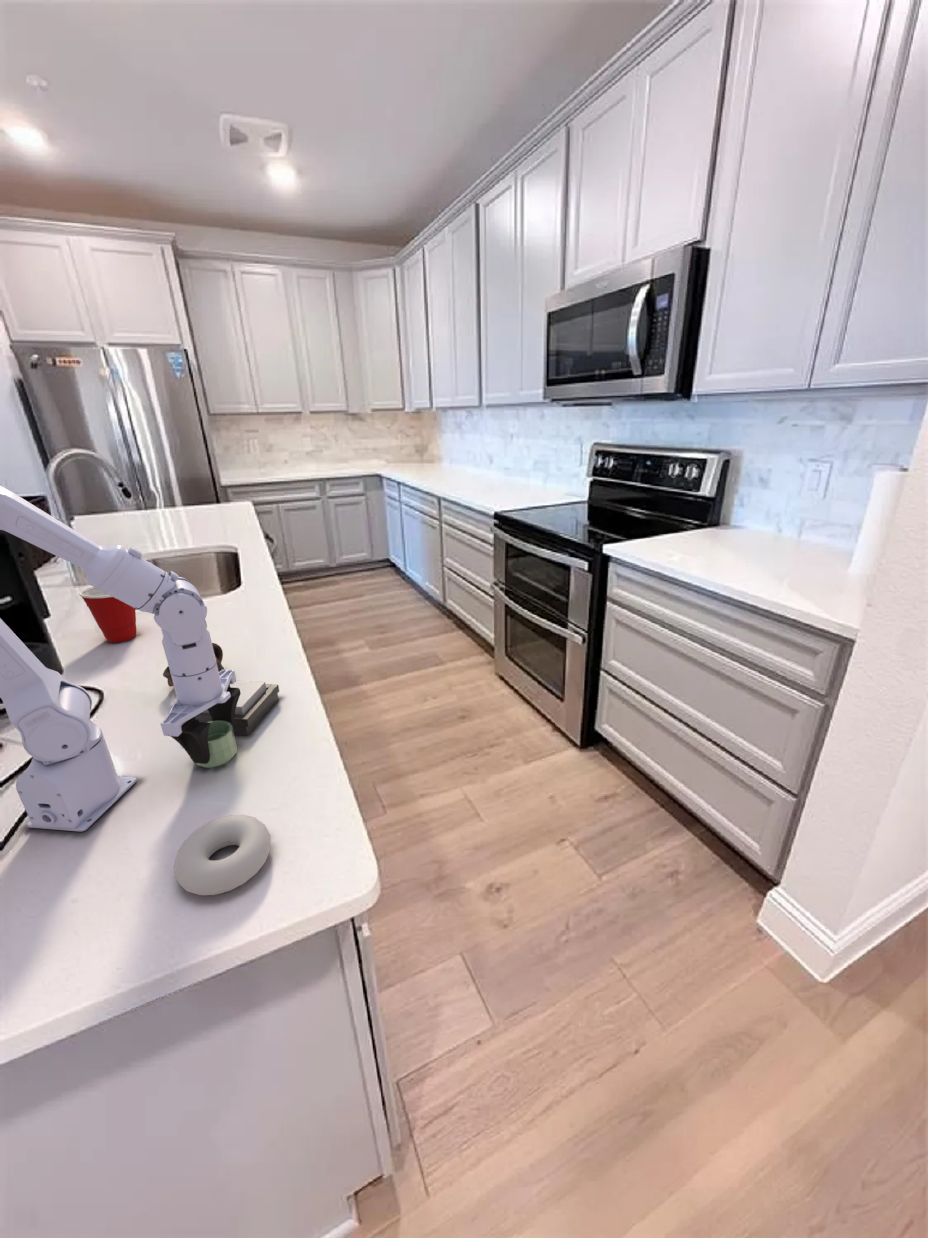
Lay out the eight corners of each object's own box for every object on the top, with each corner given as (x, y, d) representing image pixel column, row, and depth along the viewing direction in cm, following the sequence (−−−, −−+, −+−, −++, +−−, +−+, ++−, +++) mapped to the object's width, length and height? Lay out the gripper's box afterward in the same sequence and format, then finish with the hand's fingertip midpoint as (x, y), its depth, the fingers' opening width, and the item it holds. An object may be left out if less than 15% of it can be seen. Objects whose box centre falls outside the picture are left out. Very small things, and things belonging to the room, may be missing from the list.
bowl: (224, 770, 73) (217, 744, 71) (186, 768, 73) (179, 742, 71) (244, 745, 78) (239, 721, 76) (209, 743, 79) (203, 719, 77)
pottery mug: (219, 699, 91) (184, 669, 87) (183, 714, 95) (148, 686, 90) (246, 654, 101) (215, 625, 97) (212, 669, 104) (182, 642, 100)
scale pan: (243, 716, 81) (241, 707, 80) (196, 713, 82) (194, 704, 81) (267, 690, 88) (265, 681, 87) (223, 688, 89) (221, 679, 88)
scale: (250, 735, 80) (246, 719, 79) (186, 732, 81) (181, 716, 80) (281, 698, 90) (278, 684, 89) (223, 696, 92) (220, 681, 90)
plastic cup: (160, 632, 118) (147, 583, 114) (113, 651, 110) (97, 599, 105) (131, 624, 123) (117, 577, 118) (84, 642, 114) (67, 592, 109)
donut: (280, 878, 56) (266, 818, 64) (275, 856, 54) (261, 797, 63) (178, 920, 52) (177, 849, 60) (170, 896, 50) (170, 827, 58)
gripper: (188, 695, 63) (211, 783, 68) (247, 644, 76) (263, 721, 81) (135, 693, 63) (162, 779, 69) (203, 643, 77) (221, 719, 82)
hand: (214, 748), depth 75 cm, fingers closed on bowl, 6 cm apart
